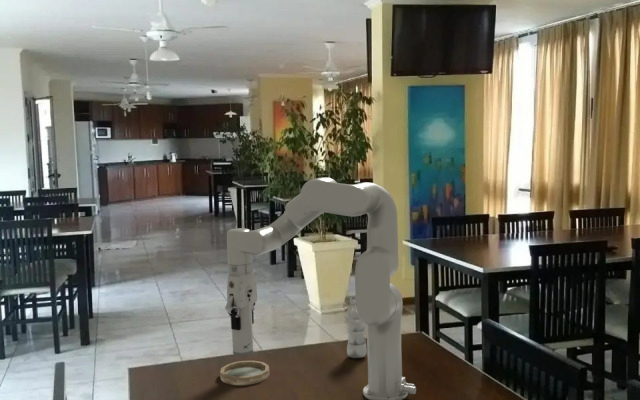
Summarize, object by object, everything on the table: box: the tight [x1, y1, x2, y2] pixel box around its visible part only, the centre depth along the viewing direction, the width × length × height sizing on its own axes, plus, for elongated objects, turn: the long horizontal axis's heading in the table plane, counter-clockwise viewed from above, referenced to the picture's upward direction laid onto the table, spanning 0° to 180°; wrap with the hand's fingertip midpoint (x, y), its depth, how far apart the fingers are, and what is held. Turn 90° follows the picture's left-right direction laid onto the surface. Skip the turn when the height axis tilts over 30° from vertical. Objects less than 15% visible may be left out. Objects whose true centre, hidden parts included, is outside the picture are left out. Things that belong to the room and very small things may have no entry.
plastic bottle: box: [346, 296, 368, 359], centre depth 205 cm, size 6×7×20 cm
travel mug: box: [231, 289, 254, 357], centre depth 190 cm, size 6×7×20 cm
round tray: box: [219, 360, 270, 386], centre depth 192 cm, size 15×15×2 cm
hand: (242, 325), depth 190 cm, fingers closed on travel mug, 6 cm apart
